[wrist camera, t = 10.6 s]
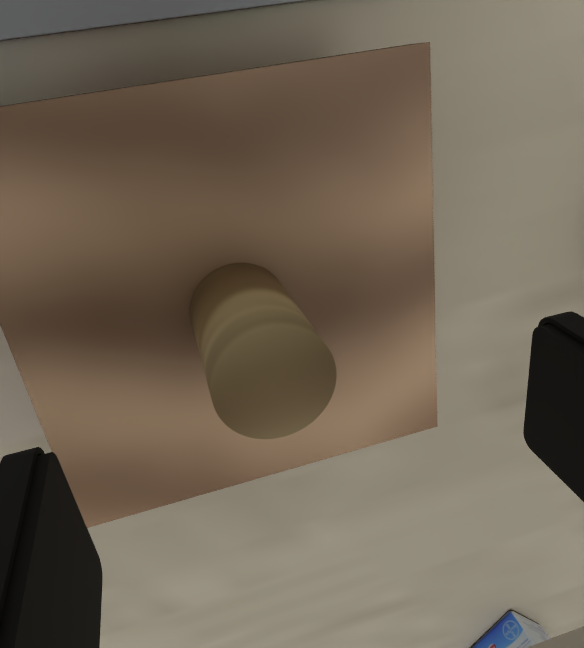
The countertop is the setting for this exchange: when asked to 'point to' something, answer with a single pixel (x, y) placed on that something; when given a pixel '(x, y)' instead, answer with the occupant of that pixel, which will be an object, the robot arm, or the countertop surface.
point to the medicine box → (513, 633)
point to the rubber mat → (104, 13)
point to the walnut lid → (222, 272)
